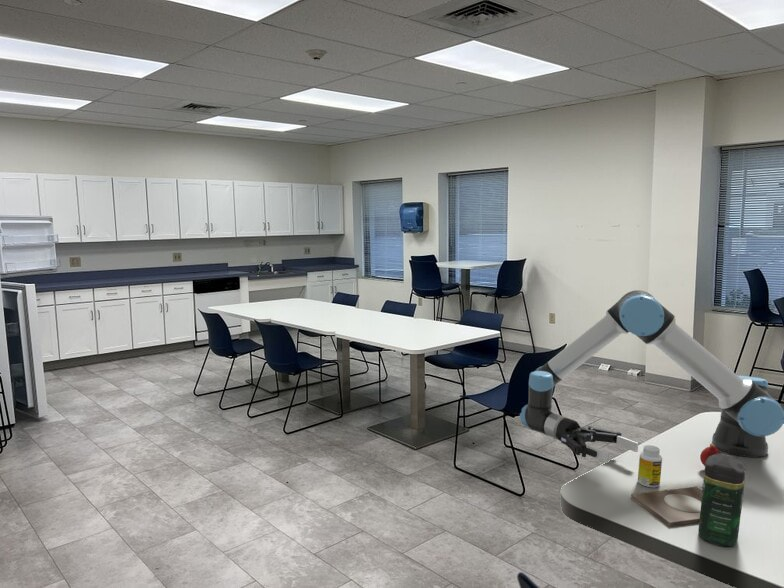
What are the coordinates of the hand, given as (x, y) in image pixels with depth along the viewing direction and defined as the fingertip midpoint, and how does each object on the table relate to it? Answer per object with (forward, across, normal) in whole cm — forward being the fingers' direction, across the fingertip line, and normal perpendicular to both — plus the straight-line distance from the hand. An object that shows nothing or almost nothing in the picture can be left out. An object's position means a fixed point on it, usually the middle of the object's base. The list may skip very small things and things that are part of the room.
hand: (623, 452), depth 161 cm
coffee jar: (+32, +10, -6) cm, 34 cm away
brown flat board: (+20, +4, -6) cm, 22 cm away
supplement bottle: (+8, 0, -6) cm, 10 cm away
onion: (+13, -23, -6) cm, 27 cm away
